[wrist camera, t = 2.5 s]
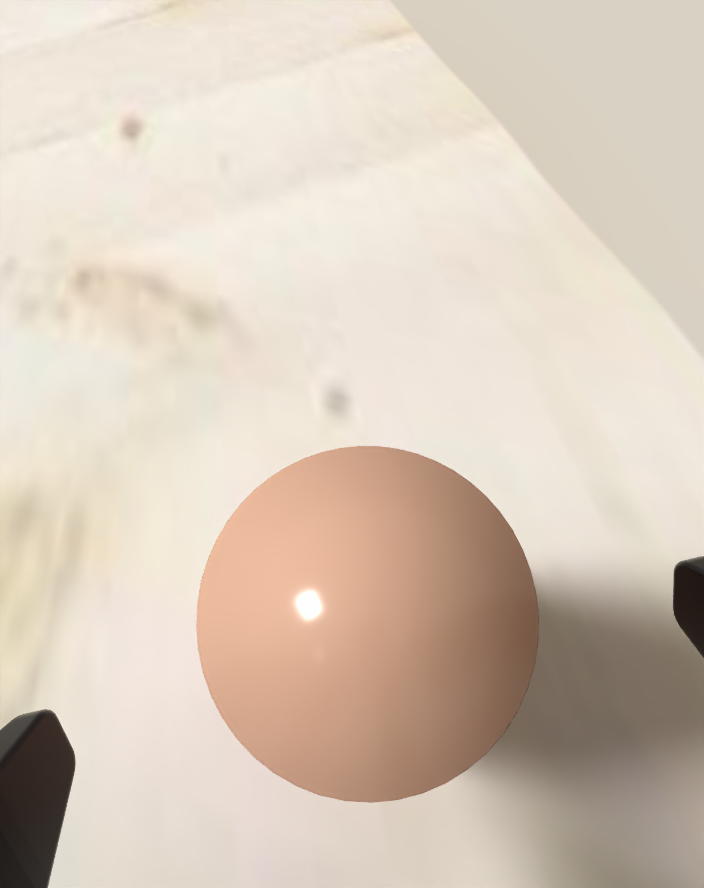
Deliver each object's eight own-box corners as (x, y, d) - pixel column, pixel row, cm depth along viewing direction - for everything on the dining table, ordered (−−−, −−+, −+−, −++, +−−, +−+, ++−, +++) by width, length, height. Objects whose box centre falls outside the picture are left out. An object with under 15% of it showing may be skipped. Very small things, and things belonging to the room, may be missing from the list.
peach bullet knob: (491, 663, 15) (614, 623, 7) (362, 787, 14) (334, 907, 6) (383, 537, 17) (384, 394, 9) (261, 636, 16) (136, 574, 8)
